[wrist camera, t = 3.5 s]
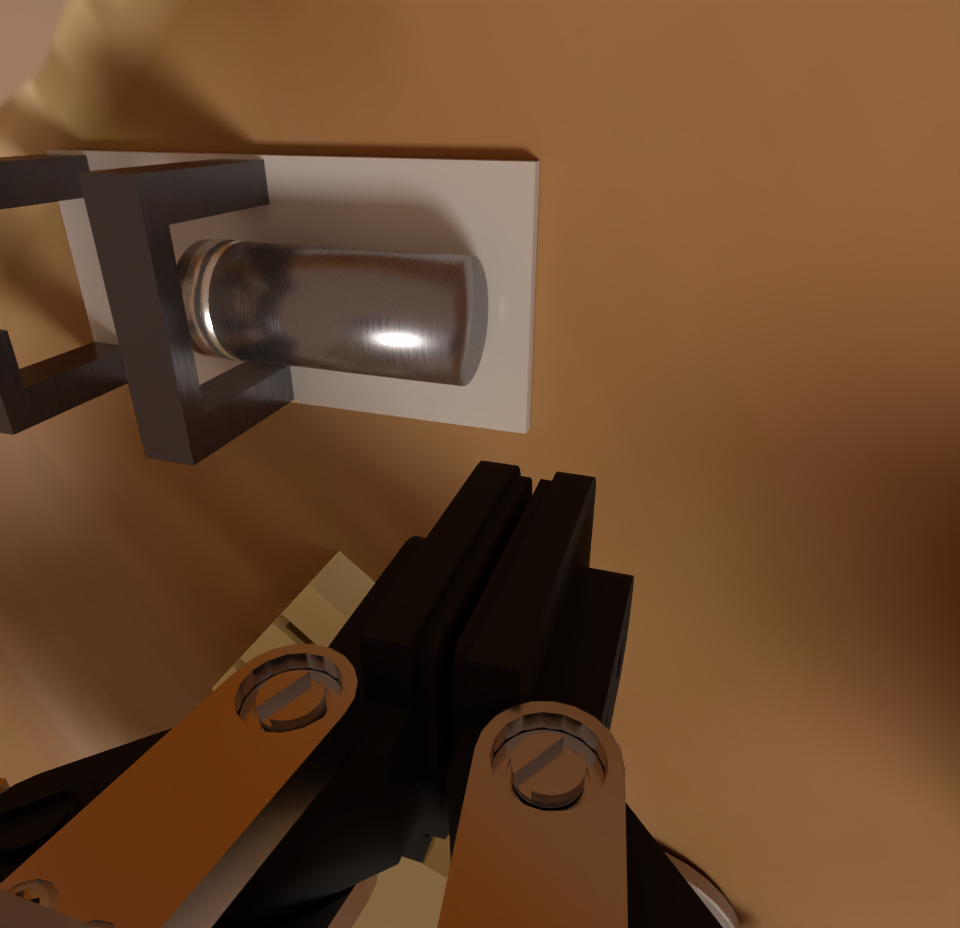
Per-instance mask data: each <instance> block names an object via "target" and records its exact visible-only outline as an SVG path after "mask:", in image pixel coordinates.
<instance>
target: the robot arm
mask: <svg viewBox="0 0 960 928" xmlns="http://www.w3.org/2000/svg"><path fill="white" fill-rule="evenodd" d="M595 491H596V479H595V477H590V476H584V475H577V474H570V473H563V472H556V474H555V475H554V478H553V480H552V481H550V480H544V479H541V480H540V481H539V483H538V485H537V487H536V489H535V491H534V493H533V495H532V479H531V478H530V477H524V476H521V473H520V468H519V466H516V465H509V464H502V463H495V462H488V461H480V462H479V463H478V465H477V466H476V468H475V469H474V470H473V472H472V473H471V475H470V476H469V478H468V479H467V480H466V482H465V483H464V485H463V486H462V487H461V489H460V490H459V492H458V493H457V495H456V496H455V497H454V499H453V500H452V502H451V503H450V505H449V506H448V507H447V509H446V510H445V512H444V513H443V515H442V516H441V517H440V519H439V520H438V522H437V523H436V525H435V526H434V527H433V529H432V530H431V532H430V533H429V535H428V536H427V537H426V538H424V537H419V536H414V537H410V538H409V539H408V540H407V541H406V542H405V544H404V545H403V546H402V548H401V549H400V550H399V552H398V553H397V554H396V556H395V557H394V558H393V560H392V561H391V562H390V564H389V565H388V566H387V568H386V569H385V570H384V572H383V573H382V575H381V576H380V577H379V579H378V580H377V581H376V583H375V584H374V585H373V587H372V588H371V589H370V591H369V592H368V593H367V595H366V596H365V597H364V599H363V600H362V602H361V603H360V604H359V606H358V607H357V608H356V610H355V611H354V612H353V614H352V615H351V616H350V618H349V619H348V620H347V622H346V623H345V624H344V626H343V627H342V629H341V630H340V631H339V633H338V634H337V635H336V637H335V638H334V639H333V641H332V642H331V643H330V645H329V646H328V647H324V646H319V645H315V644H293V645H289V646H284V647H280V648H275V649H272V650H270V651H268V652H265V653H263V654H261V655H258V656H256V657H254V658H253V659H252V660H250V661H249V662H247V663H246V664H245V665H243V666H242V667H240V668H239V669H238V670H237V671H236V672H234V673H233V674H232V675H231V676H230V677H229V678H228V679H227V680H226V681H225V682H223V683H222V684H221V685H220V686H219V687H218V688H217V689H216V690H215V691H213V692H212V693H211V694H210V695H209V696H208V697H207V698H206V699H205V700H203V701H202V702H201V703H200V704H199V705H198V706H197V707H196V708H195V709H193V710H192V711H191V712H190V713H189V714H188V715H187V716H186V717H185V718H184V719H182V720H181V721H180V722H179V723H178V724H177V725H176V726H175V727H174V728H171V729H168V730H166V731H163V732H160V733H157V734H154V735H151V736H148V737H145V738H142V739H139V740H136V741H133V742H130V743H128V744H125V745H122V746H119V747H116V748H113V749H110V750H107V751H104V752H101V753H98V754H95V755H92V756H90V757H87V758H84V759H81V760H78V761H75V762H72V763H69V764H66V765H63V766H60V767H57V768H54V769H52V770H49V771H46V772H43V773H40V774H37V775H35V776H33V777H31V778H28V779H26V780H24V781H22V782H19V783H17V784H15V785H13V786H12V787H9V785H8V783H7V781H6V778H0V928H352V927H353V925H354V923H355V922H356V920H357V919H358V917H359V915H360V914H361V912H362V911H363V909H364V907H365V906H366V904H367V903H368V901H369V899H370V897H371V895H372V892H373V890H374V888H375V886H376V883H377V876H378V873H380V872H383V871H385V870H387V869H389V868H391V867H393V866H395V865H397V864H399V862H400V859H401V857H405V858H408V859H411V860H415V861H418V862H421V863H423V860H424V858H425V855H426V853H427V851H428V848H429V846H430V843H431V841H432V838H433V836H434V837H437V838H440V839H446V838H447V836H448V835H449V836H450V863H451V864H450V869H449V873H448V878H447V883H446V888H445V893H444V897H443V902H442V907H441V912H440V916H439V921H438V926H437V928H742V927H741V925H740V923H739V920H738V918H737V915H736V913H735V911H734V910H733V908H732V907H731V906H730V904H729V903H728V901H727V900H726V898H725V897H724V896H723V895H722V894H721V893H720V892H719V891H718V890H717V889H716V888H715V887H714V886H713V885H712V884H711V883H710V882H709V881H708V880H707V879H706V878H705V877H704V876H702V875H701V874H700V873H698V872H697V871H696V870H694V869H693V868H692V867H690V866H689V865H688V864H686V863H684V862H682V861H681V860H679V859H677V858H675V857H673V856H672V855H670V854H668V853H666V852H664V851H663V850H662V848H661V847H660V846H659V845H658V843H657V842H656V841H655V839H654V838H653V837H652V836H651V834H650V833H649V832H648V830H647V829H646V828H645V827H644V825H643V824H642V823H641V821H640V820H639V819H638V818H637V816H636V815H635V814H634V812H633V811H632V810H631V809H630V807H629V806H628V805H627V803H626V802H625V767H624V762H623V757H622V752H621V748H620V747H619V745H618V743H617V742H616V740H615V738H614V737H613V735H612V733H611V732H610V726H611V721H612V716H613V711H614V706H615V701H616V696H617V691H618V686H619V681H620V676H621V670H622V664H623V659H624V652H625V646H626V640H627V633H628V625H629V618H630V610H631V602H632V593H633V584H634V576H632V575H626V574H621V573H615V572H610V571H604V570H599V569H593V568H589V562H590V550H591V538H592V527H593V515H594V503H595Z"/></svg>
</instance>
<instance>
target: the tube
mask: <svg viewBox="0 0 960 928" xmlns="http://www.w3.org/2000/svg"><path fill="white" fill-rule="evenodd" d="M177 269H178V275H179V280H180V285H181V290H182V296H183V301H184V306H185V311H186V317H187V322H188V327H189V332H190V338H191V343H192V348H193V350H194V351H195V352H197V353H199V354H201V355H204V356H210V357H214V358H218V359H226V360H234V361H252V362H261V363H269V364H278V365H286V366H295V367H303V368H311V369H320V370H328V371H337V372H345V373H354V374H362V375H371V376H379V377H388V378H396V379H405V380H413V381H421V382H430V383H438V384H447V385H455V386H466V385H467V384H469V383H470V382H471V380H472V379H473V377H474V376H475V374H476V372H477V369H478V367H479V364H480V361H481V358H482V354H483V350H484V345H485V340H486V333H487V324H488V288H487V281H486V276H485V272H484V268H483V266H482V264H481V262H480V260H479V259H478V258H477V257H475V256H467V255H451V254H435V253H419V252H404V251H388V250H372V249H357V248H341V247H325V246H309V245H294V244H278V243H262V242H251V241H248V240H234V239H203V240H199V241H196V242H195V243H193V244H192V245H190V246H189V247H188V248H187V249H186V250H185V251H184V253H183V254H182V256H181V257H180V259H179V261H178V263H177Z"/></svg>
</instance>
